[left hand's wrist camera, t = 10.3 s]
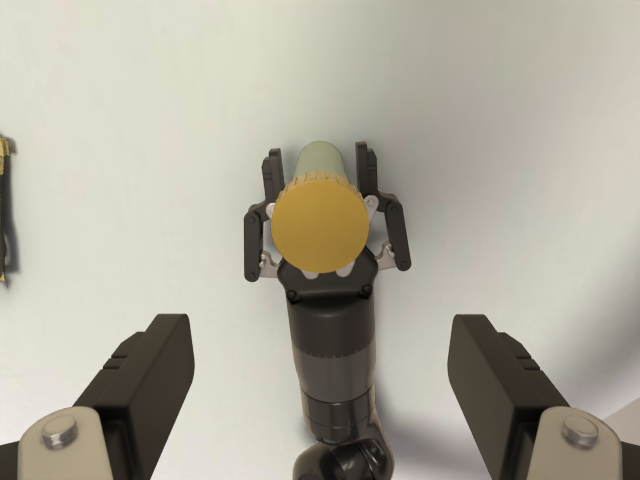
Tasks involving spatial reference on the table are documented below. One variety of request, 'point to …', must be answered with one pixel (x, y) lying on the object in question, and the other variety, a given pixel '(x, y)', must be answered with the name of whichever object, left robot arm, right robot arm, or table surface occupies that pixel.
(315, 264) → the lid
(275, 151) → the right robot arm
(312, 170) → the jar
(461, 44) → the table surface
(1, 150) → the toy gun
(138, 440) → the left robot arm
